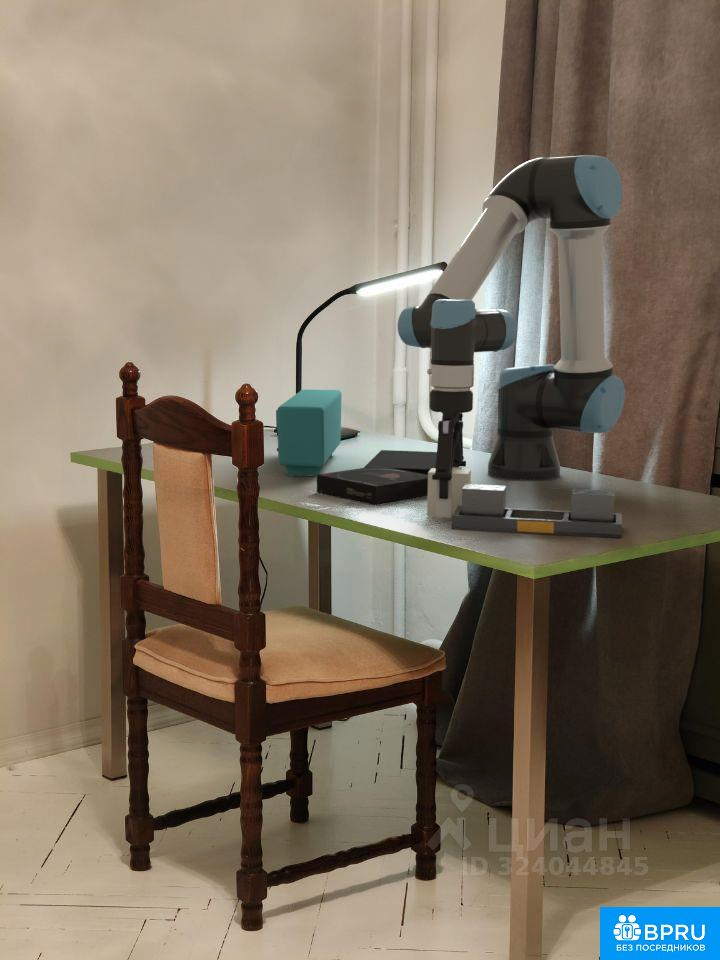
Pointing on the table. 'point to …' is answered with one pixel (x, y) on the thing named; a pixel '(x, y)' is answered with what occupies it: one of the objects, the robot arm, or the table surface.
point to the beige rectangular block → (459, 480)
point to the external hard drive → (405, 460)
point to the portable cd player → (374, 485)
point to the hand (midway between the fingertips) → (448, 509)
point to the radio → (308, 430)
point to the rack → (538, 514)
